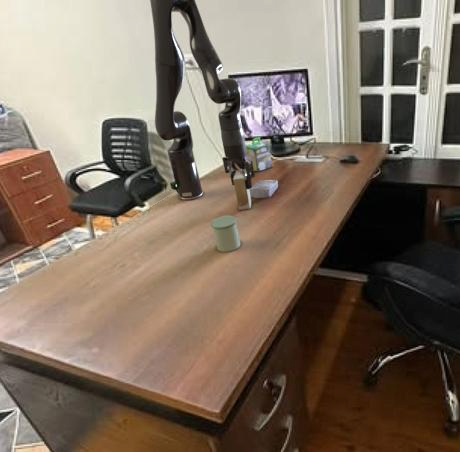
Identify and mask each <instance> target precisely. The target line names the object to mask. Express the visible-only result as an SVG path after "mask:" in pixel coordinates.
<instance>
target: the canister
mask: <svg viewBox="0 0 460 452" xmlns="http://www.w3.org/2000/svg"><path fill="white" fill-rule="evenodd" d="M237 222H238V220H237V218H236V217H235V216H233V215H222V216H218V217H216V218H214V219H212V220H211V222H210V227H211V228H212V232H213V237H214V241H215V246H216V249H217V251H219V252H222V253H229V252H232V251H235V250H237V249H238V248H240V246H241V238H240V233H239V230H238V223H237Z"/></svg>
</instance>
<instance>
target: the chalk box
mask: <svg viewBox="0 0 460 452" xmlns="http://www.w3.org/2000/svg"><path fill="white" fill-rule="evenodd" d="M245 145H246V151H247V154H246V155H245V158H246V160H247V161H252V162H253V168H254V172H258V173H259V172H261V171H264V170H267V169H270V168H273V163H272V162H273V161H272V155H271V148H270V143H268V142H262V141H261V136H259V137H255V138H252V142H251V143H248V144H245Z"/></svg>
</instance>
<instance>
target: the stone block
mask: <svg viewBox="0 0 460 452" xmlns="http://www.w3.org/2000/svg"><path fill="white" fill-rule="evenodd" d="M278 188H279V181H278V180H272V179H263V180H259V181H257V182H255V183H254V184H253V185H252V188H250V189H249V191H250V197H251V198H254V199H270V198H271V197H272V196H273V194H274V193H275V192H276V190H277V189H278Z"/></svg>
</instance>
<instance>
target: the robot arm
mask: <svg viewBox="0 0 460 452" xmlns="http://www.w3.org/2000/svg"><path fill="white" fill-rule="evenodd" d="M149 2H150V9H151V15H152V16H151V17H152V24H153V36H154V37H153V39H154V66H155V68H154V69H155V70H154V71H155V94H156V97H155V110H154V112H155V113H154V128H155V131H156V133H157V135H158V137H159V138H160V139H162V140H163V141H172V140H173V141H172V143H171V145H170V146H169V147H168V148H167V153H166V154H167V156H168V159H169V163H170V167H171V171H172V174H173V175H172V176H173V179H174V181H172V182H169V185H170V188H171V190H173V191H176V193H177V195H178V197H179V199H180V200H183V201H190V200H191V201H192V200H196V199H198V198H201V197H202V196H203V195H204V191H203V188H202V183H201V179H200V176H199V170H198V167H197V163H196V159H195V153H194V150H193V149H194V140H193V135H192V130H191V125H190V122H189V120H188V117H187V116H186V114H185V113H184V112H181V111H178V110H175V105H176V100H177V98H178V96H179V94H180V92H181V90H182V87H183V85H184V82H185V77H186V59H185V55H184V53H183V51H182V48H181V46H180V44H179V42H178V40H177V38H176V36H175V33H174V30H173V20H172V19H173V15H172V13H180V15H181V17H182V18H183V19H184V21H185V23H186V25H187V29H188V36H189V37H188V41H189V42H188V43H189V49H190V53H191V54H192V57H193V59H194V61H195V62H196V65H197V66H198V68H199V69H200V72H201V74H202V78H203V79H202V80H203V82H204V86H205V90H206V94H207V96H208V98H209V99H210V100H211V101H212V102H213V103H215V104H217V105H223V104H224V108H223V109H222V110H221V111H219V112H218V114H217V115H218V116H217V117H218V122H219V123H218V124H219V129H220V135H221V136H220V137H221V143H222V147H223V148H222V149H223V152H224V156H223V157H222V159H221V160H222V164H223V167H224V173H225V174H228V176H229V178H230V180H231V181H230V182H231V185H232V186H234V181H233V178H234V175H235V174H237V172H238V173H240V174H241V175H243V177H244V179H245V180H244V181H245V186H246V189H249V190H250V189H251V188H252V186H253V185H252V178H255V176H256V175H255V171H254V168H253V162H252V161H247V160H246V158H245V155H246V154H247V151H246V145H247V144H246V138H245V134H244V130H243V126H242V120H241V105H242V90H241V86H240V84H239V83H238V81H237V80H236V79H234V78H232V77H227V78H221V79H220V78H219V74H220V73H221V72H222V71H223V68H224V65H223V62H222V59H220V57H219V55H218V53H217V51H216V49H215V47H214V45H213V43H212V41H211V40H210V37H209V35H208V33H207V30H206V27H205V24H204V22H203V21H204V20H203V19H202V16H201V13H200V10H199V8H198V5H197V2H196V0H149ZM245 173H247V176H246V175H245Z"/></svg>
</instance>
